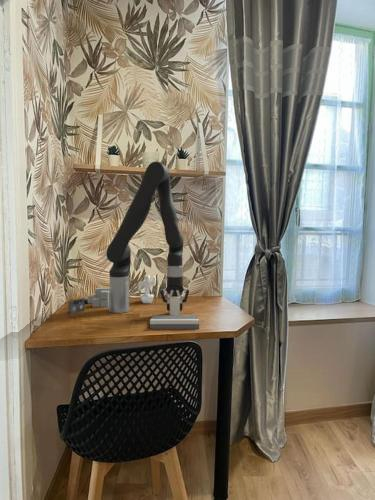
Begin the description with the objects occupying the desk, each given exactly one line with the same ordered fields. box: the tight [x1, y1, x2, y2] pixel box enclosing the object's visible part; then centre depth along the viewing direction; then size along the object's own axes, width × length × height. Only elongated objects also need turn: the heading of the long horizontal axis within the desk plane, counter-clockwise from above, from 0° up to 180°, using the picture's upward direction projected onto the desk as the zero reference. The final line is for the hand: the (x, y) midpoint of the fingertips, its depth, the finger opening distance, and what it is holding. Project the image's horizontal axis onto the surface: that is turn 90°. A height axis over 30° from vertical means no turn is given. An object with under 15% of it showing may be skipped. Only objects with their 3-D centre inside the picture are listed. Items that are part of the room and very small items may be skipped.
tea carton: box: [169, 296, 181, 315], centre depth 146 cm, size 5×7×9 cm
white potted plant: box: [137, 274, 157, 304], centre depth 169 cm, size 7×9×15 cm
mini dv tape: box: [68, 297, 86, 315], centre depth 149 cm, size 8×2×6 cm, turn 148°
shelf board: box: [149, 314, 200, 330], centre depth 132 cm, size 20×12×4 cm, turn 92°
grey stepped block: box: [87, 286, 110, 308], centre depth 164 cm, size 12×12×8 cm
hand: (174, 310), depth 146 cm, fingers closed on tea carton, 4 cm apart
